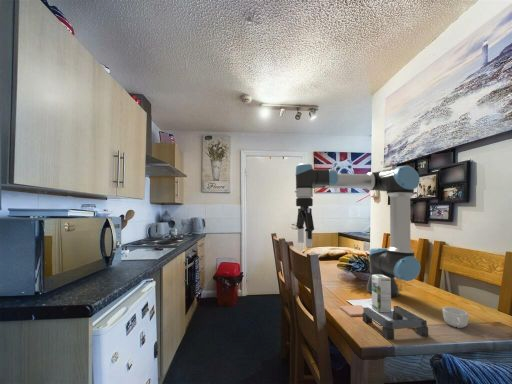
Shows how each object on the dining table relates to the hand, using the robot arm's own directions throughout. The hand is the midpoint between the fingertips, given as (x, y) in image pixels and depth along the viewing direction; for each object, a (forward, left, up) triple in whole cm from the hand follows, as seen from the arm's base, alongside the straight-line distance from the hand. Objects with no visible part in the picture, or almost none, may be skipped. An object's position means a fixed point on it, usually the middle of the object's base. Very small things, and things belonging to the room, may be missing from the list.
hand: (304, 244), depth 115 cm
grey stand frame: (-25, +24, -27) cm, 44 cm away
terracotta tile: (-20, +8, -27) cm, 35 cm away
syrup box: (-32, +8, -28) cm, 43 cm away
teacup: (-50, +26, -28) cm, 63 cm away
